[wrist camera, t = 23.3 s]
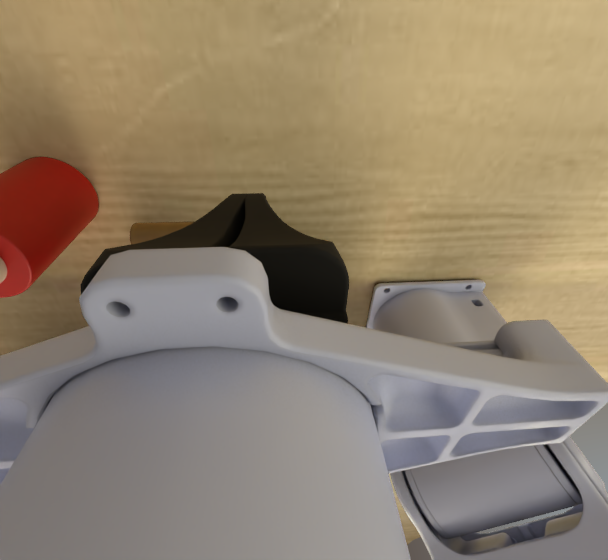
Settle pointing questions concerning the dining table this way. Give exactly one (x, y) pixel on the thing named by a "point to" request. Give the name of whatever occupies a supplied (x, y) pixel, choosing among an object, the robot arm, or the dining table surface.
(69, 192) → the red plastic cylinder
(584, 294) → the dining table surface
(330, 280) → the robot arm
